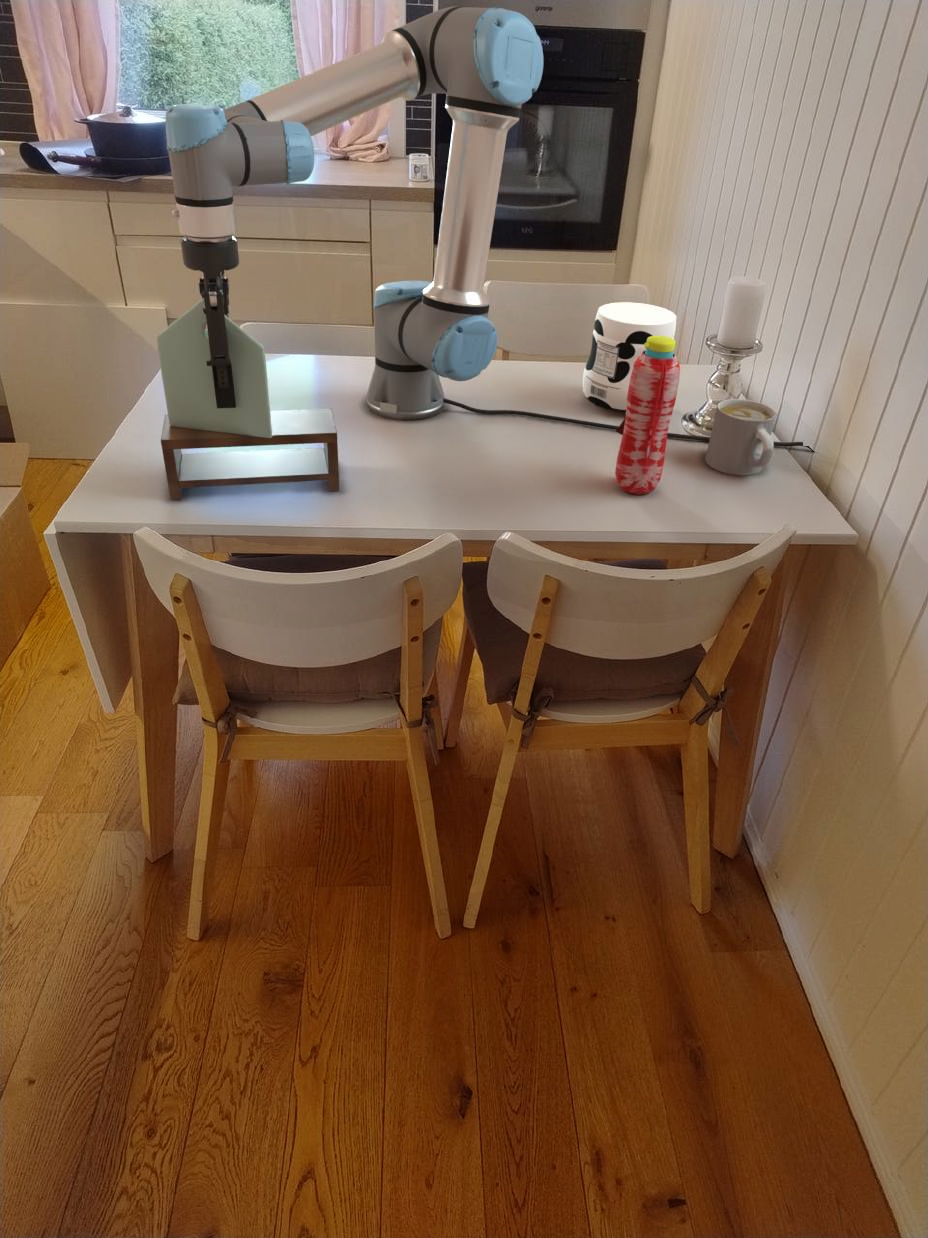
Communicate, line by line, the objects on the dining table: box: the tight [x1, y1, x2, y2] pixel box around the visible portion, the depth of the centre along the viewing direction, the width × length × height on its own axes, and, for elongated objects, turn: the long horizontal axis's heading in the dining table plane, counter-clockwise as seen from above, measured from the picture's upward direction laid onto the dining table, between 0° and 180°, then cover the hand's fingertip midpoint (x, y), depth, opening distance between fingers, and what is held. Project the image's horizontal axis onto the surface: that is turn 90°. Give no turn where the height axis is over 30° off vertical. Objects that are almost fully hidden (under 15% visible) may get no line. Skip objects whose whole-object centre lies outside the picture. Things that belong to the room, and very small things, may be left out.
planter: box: [155, 297, 272, 438], centre depth 130 cm, size 16×8×20 cm, turn 80°
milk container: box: [582, 301, 677, 414], centre depth 171 cm, size 17×17×18 cm
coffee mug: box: [705, 398, 777, 476], centre depth 151 cm, size 13×10×10 cm
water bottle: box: [614, 335, 681, 495], centre depth 140 cm, size 12×8×25 cm, turn 0°
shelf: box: [160, 408, 341, 501], centre depth 138 cm, size 26×10×10 cm, turn 102°
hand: (226, 395), depth 132 cm, fingers closed on planter, 9 cm apart
